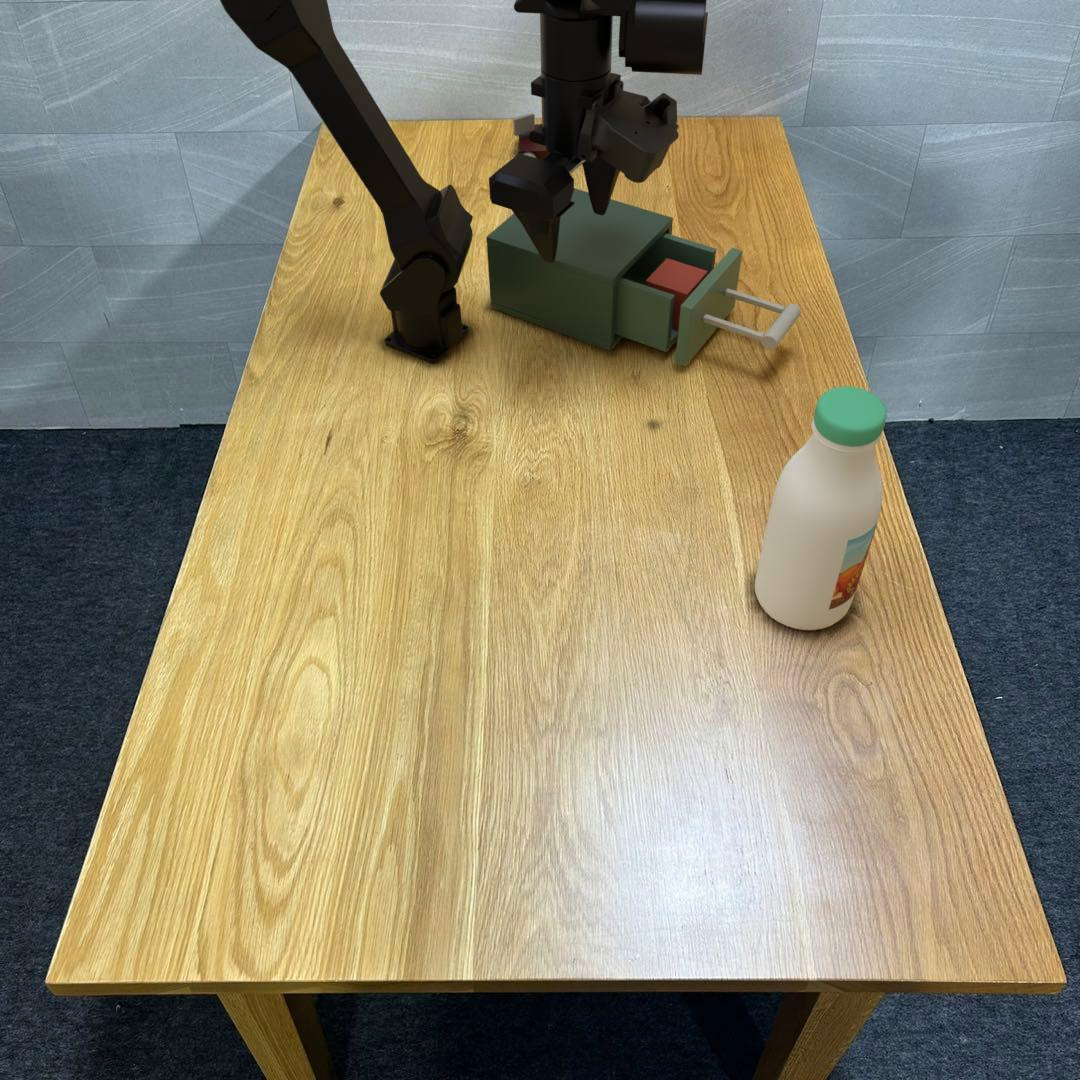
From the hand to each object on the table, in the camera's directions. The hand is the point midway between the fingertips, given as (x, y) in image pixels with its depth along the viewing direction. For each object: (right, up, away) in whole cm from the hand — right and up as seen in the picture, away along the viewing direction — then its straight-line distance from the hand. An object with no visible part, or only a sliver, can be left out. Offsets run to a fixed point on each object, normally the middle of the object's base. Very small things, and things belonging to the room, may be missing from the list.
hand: (574, 236), depth 95 cm
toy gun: (-2, +20, +36) cm, 41 cm away
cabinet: (+1, -2, +16) cm, 16 cm away
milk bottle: (+18, -33, -12) cm, 39 cm away
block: (+10, -5, +10) cm, 15 cm away
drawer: (+12, -6, +10) cm, 17 cm away
